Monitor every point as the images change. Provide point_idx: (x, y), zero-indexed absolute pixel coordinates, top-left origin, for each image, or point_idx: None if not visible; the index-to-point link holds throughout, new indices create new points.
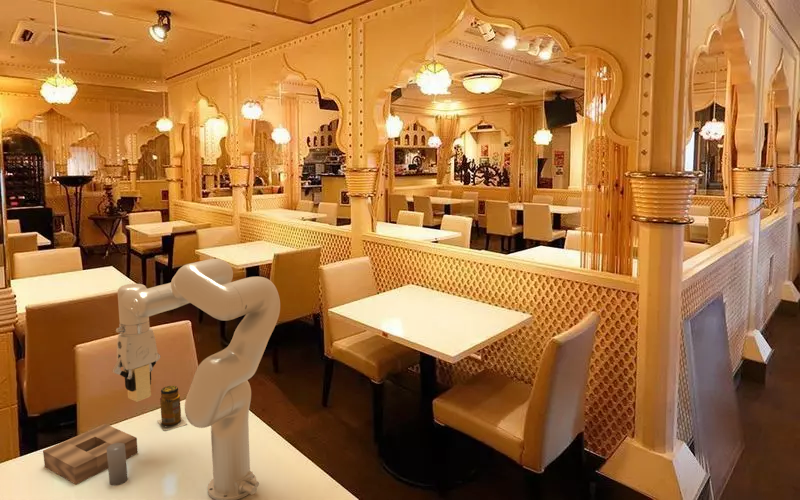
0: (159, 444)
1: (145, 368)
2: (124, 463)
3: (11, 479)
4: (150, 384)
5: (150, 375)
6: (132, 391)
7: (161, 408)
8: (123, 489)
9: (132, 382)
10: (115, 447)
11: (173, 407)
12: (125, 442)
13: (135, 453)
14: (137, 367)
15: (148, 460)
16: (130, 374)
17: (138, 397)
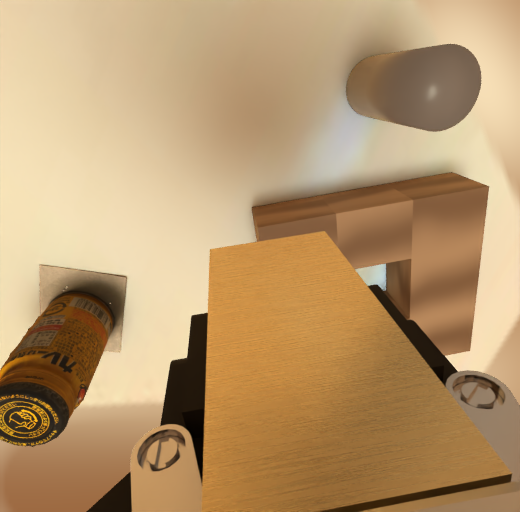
0: (174, 205)
1: (277, 459)
2: (391, 56)
3: (509, 317)
4: (196, 315)
5: (186, 377)
6: (376, 285)
7: (96, 359)
8: (394, 11)
9: (416, 334)
10: (446, 85)
11: (54, 332)
12: (301, 222)
13: (260, 206)
14: (507, 490)
15: (248, 131)
16: (492, 422)
17: (318, 245)
